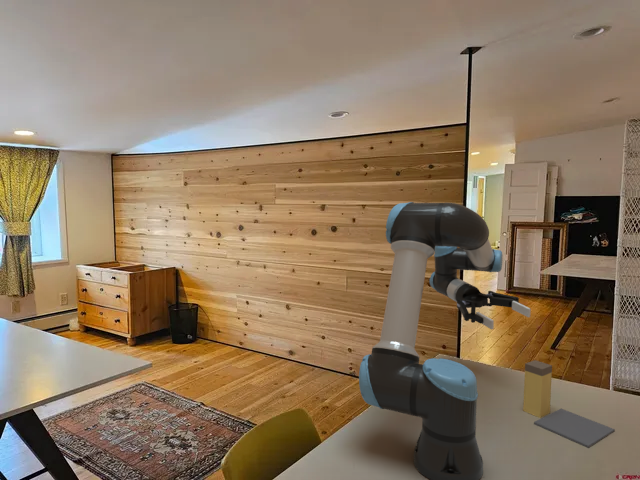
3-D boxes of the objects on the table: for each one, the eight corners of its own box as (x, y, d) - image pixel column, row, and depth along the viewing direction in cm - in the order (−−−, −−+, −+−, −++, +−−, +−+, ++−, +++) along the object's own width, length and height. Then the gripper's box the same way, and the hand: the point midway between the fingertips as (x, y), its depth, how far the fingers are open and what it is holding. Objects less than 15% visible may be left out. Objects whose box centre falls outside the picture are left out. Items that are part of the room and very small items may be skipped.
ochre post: (540, 418, 120) (542, 369, 118) (523, 410, 124) (525, 363, 123) (549, 413, 122) (552, 365, 121) (532, 406, 126) (534, 360, 125)
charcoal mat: (588, 447, 105) (588, 445, 105) (533, 423, 116) (533, 422, 116) (614, 431, 113) (614, 429, 113) (561, 410, 124) (561, 408, 124)
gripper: (493, 294, 150) (543, 319, 131) (432, 313, 142) (476, 341, 123) (493, 274, 148) (544, 296, 128) (432, 292, 140) (476, 318, 121)
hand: (511, 318), depth 126 cm, fingers open, 13 cm apart
